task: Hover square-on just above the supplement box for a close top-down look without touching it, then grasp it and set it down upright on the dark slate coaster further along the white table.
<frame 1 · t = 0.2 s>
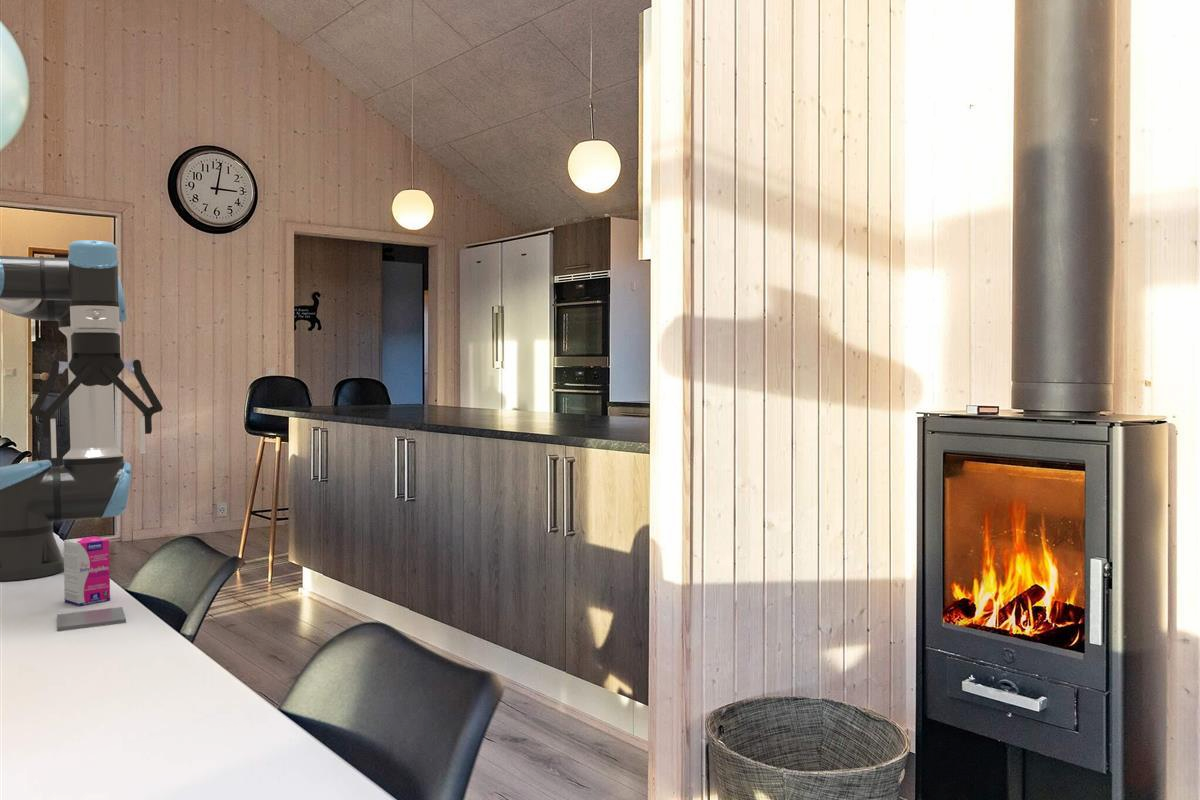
hand: (99, 455, 169), 27 cm above the table, fingers open, 13 cm apart
slate coaster: (91, 620, 165), on the table
supplement box: (87, 602, 179), on the table
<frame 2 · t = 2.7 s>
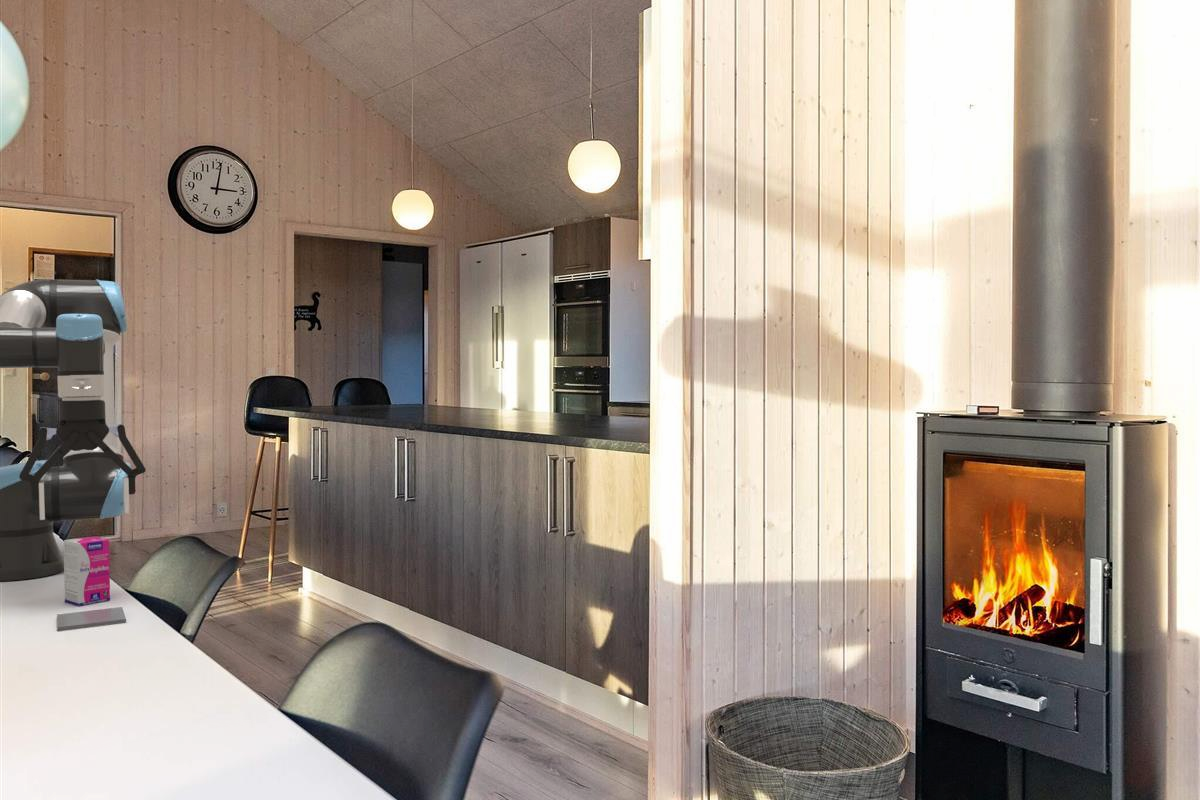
hand: (85, 515, 178), 16 cm above the table, fingers open, 13 cm apart
nothing on the table moved.
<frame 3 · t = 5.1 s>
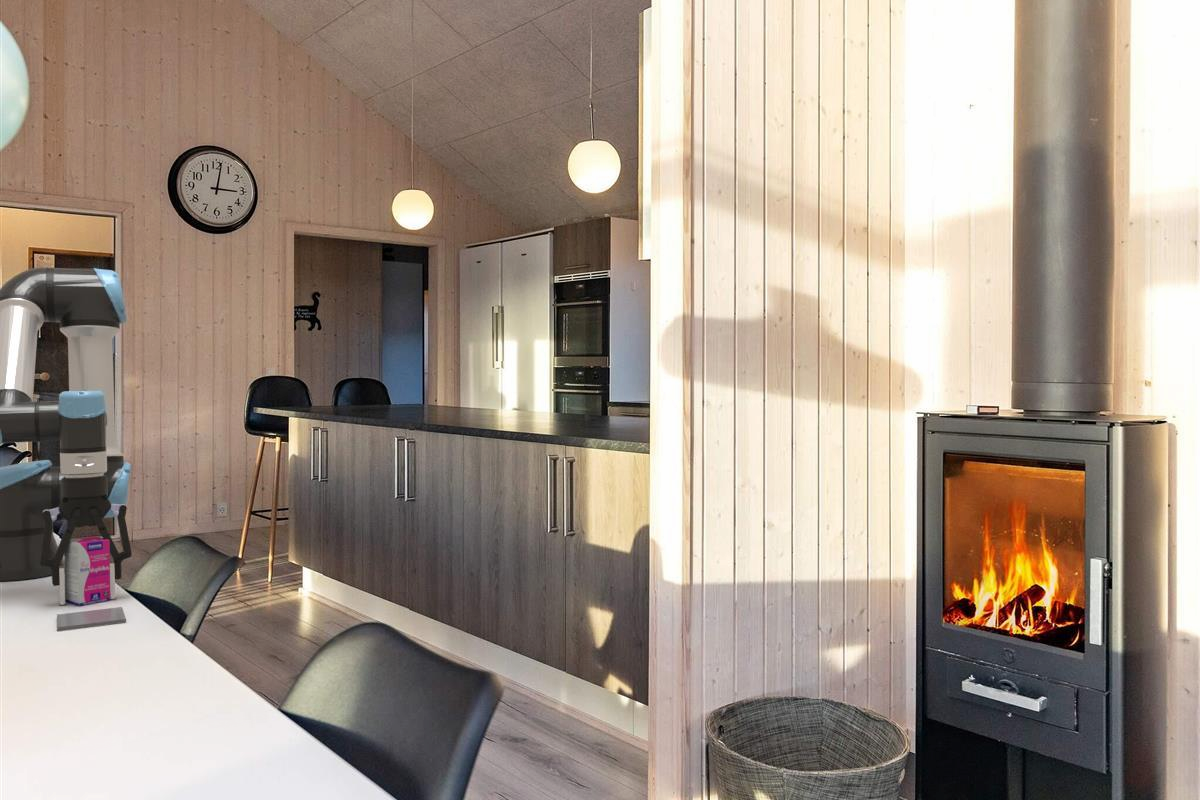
hand: (87, 600, 179), 0 cm above the table, fingers closed on supplement box, 7 cm apart
supplement box: (88, 602, 179), on the table, touching gripper
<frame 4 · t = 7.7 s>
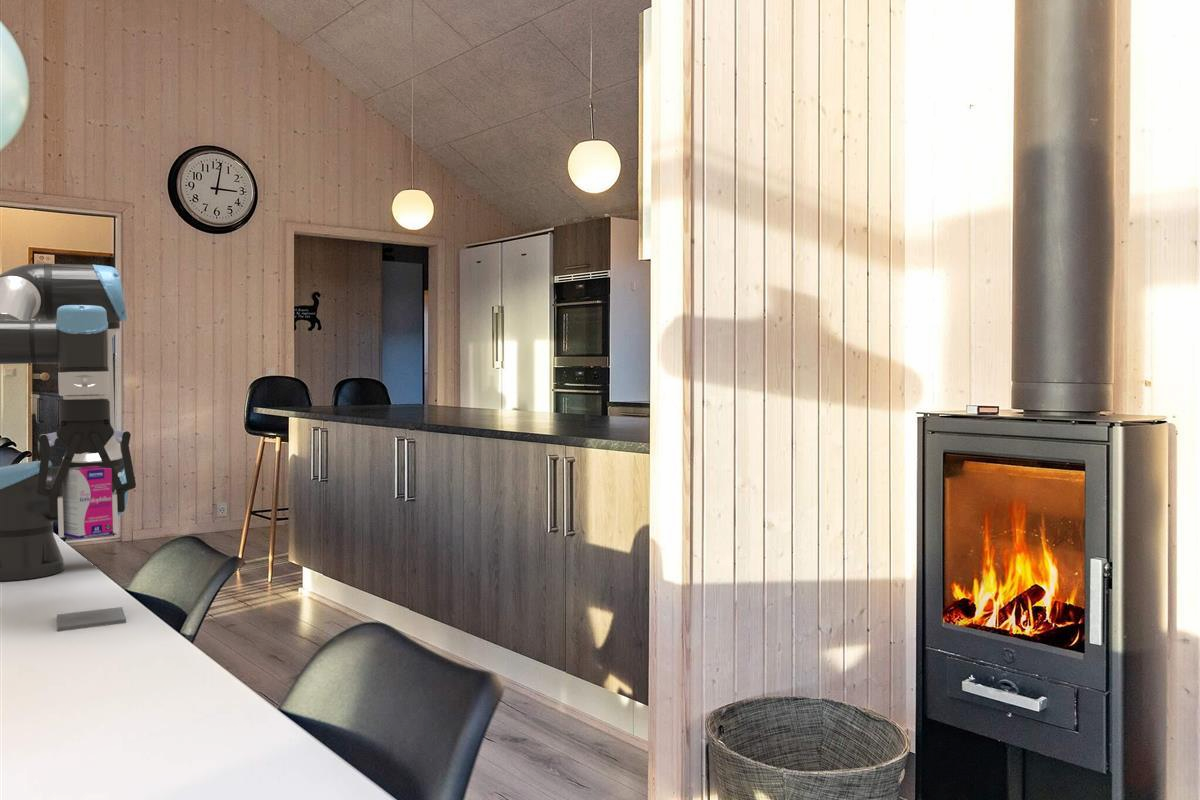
hand: (88, 533, 164), 15 cm above the table, fingers closed on supplement box, 7 cm apart
supplement box: (89, 536, 164), point 14 cm above the table, touching gripper
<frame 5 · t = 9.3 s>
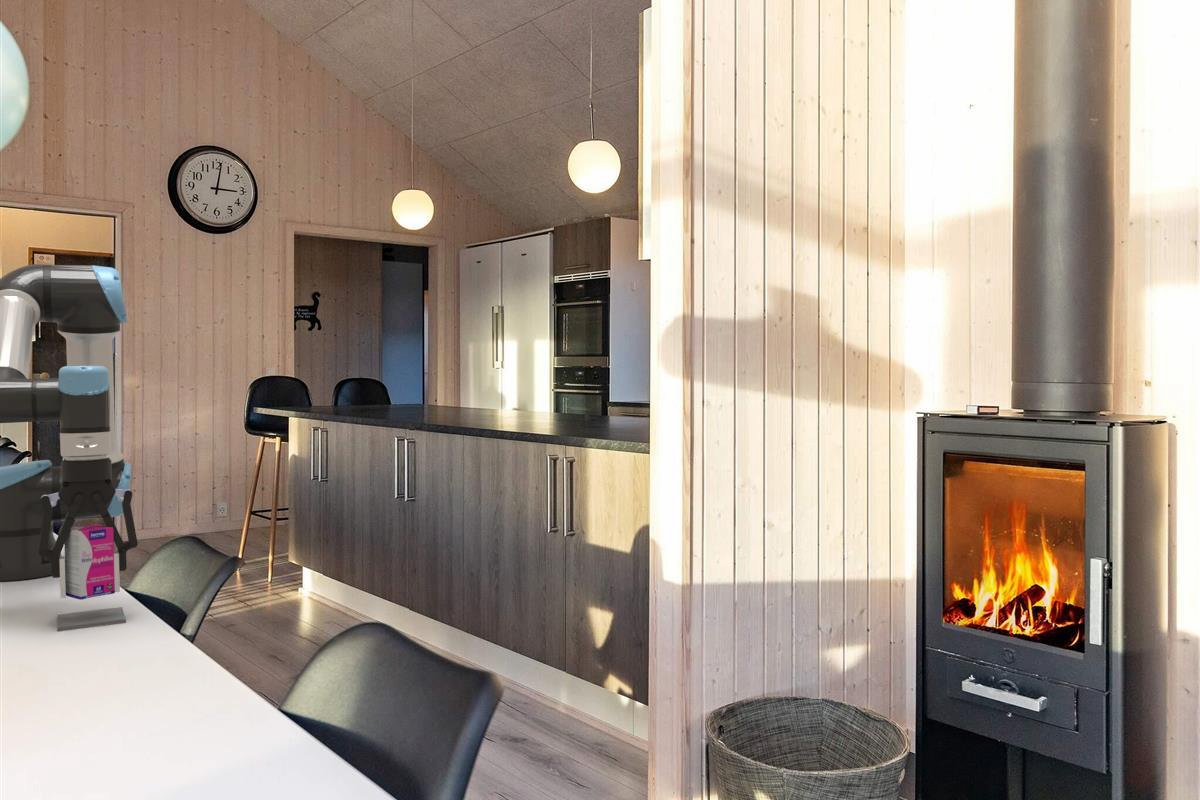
hand: (90, 593, 165), 5 cm above the table, fingers closed on supplement box, 7 cm apart
supplement box: (90, 596, 165), point 4 cm above the table, touching gripper
when the fingers open (2 cm above the table, at t = 10.2 s): supplement box drops 1 cm, resting on slate coaster.
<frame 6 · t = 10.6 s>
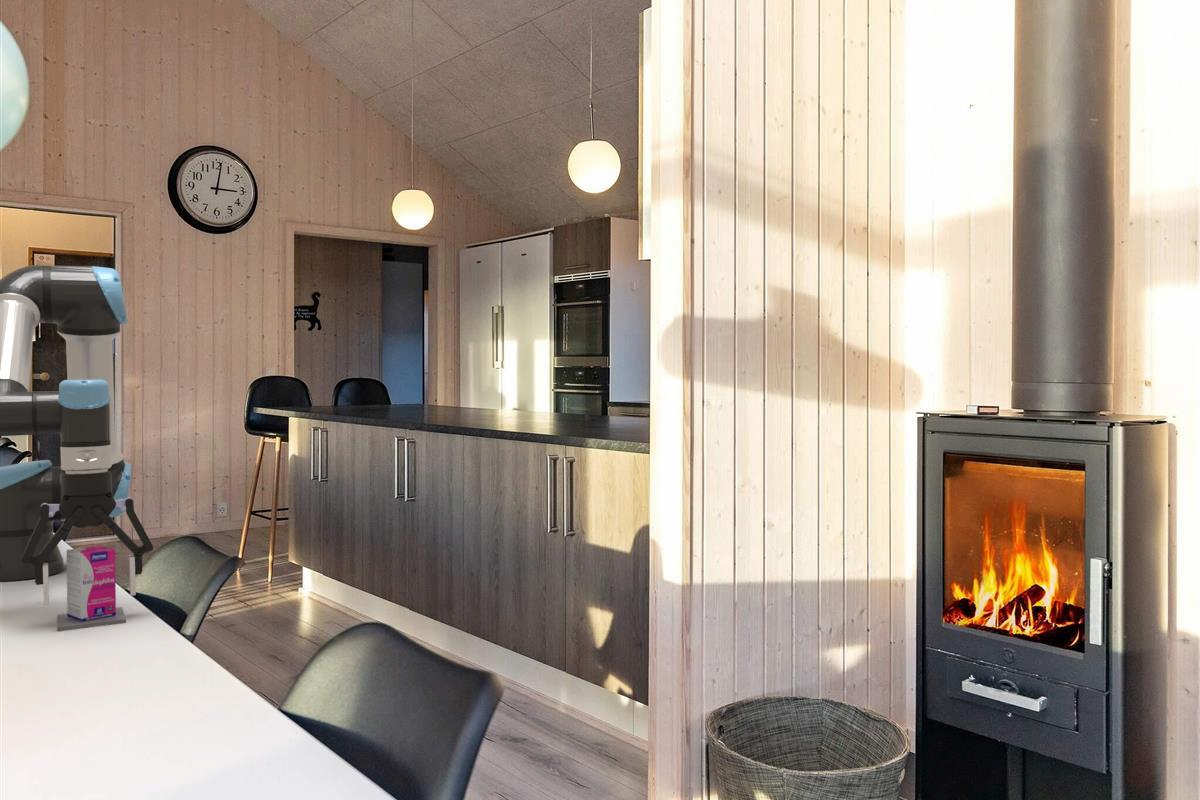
hand: (90, 598, 165), 4 cm above the table, fingers open, 12 cm apart
supplement box: (92, 617, 165), resting on slate coaster
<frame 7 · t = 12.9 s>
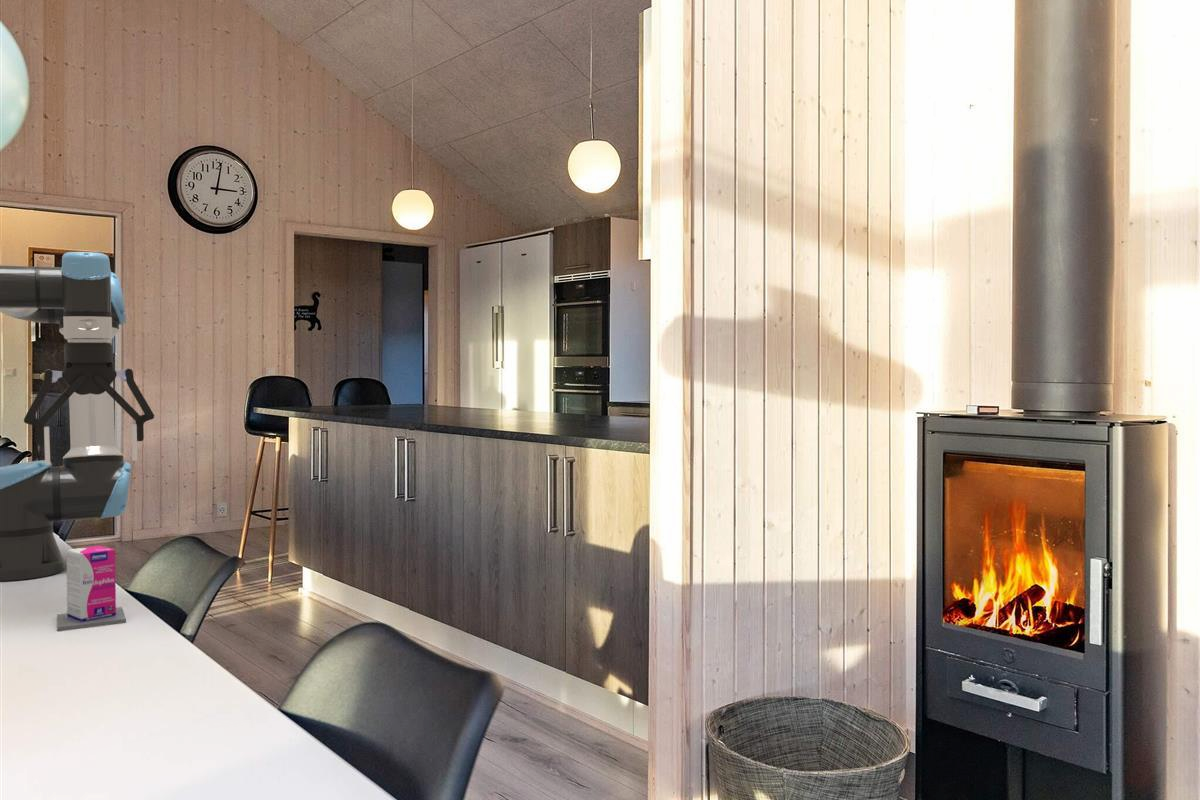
hand: (92, 462, 172), 26 cm above the table, fingers open, 13 cm apart
nothing on the table moved.
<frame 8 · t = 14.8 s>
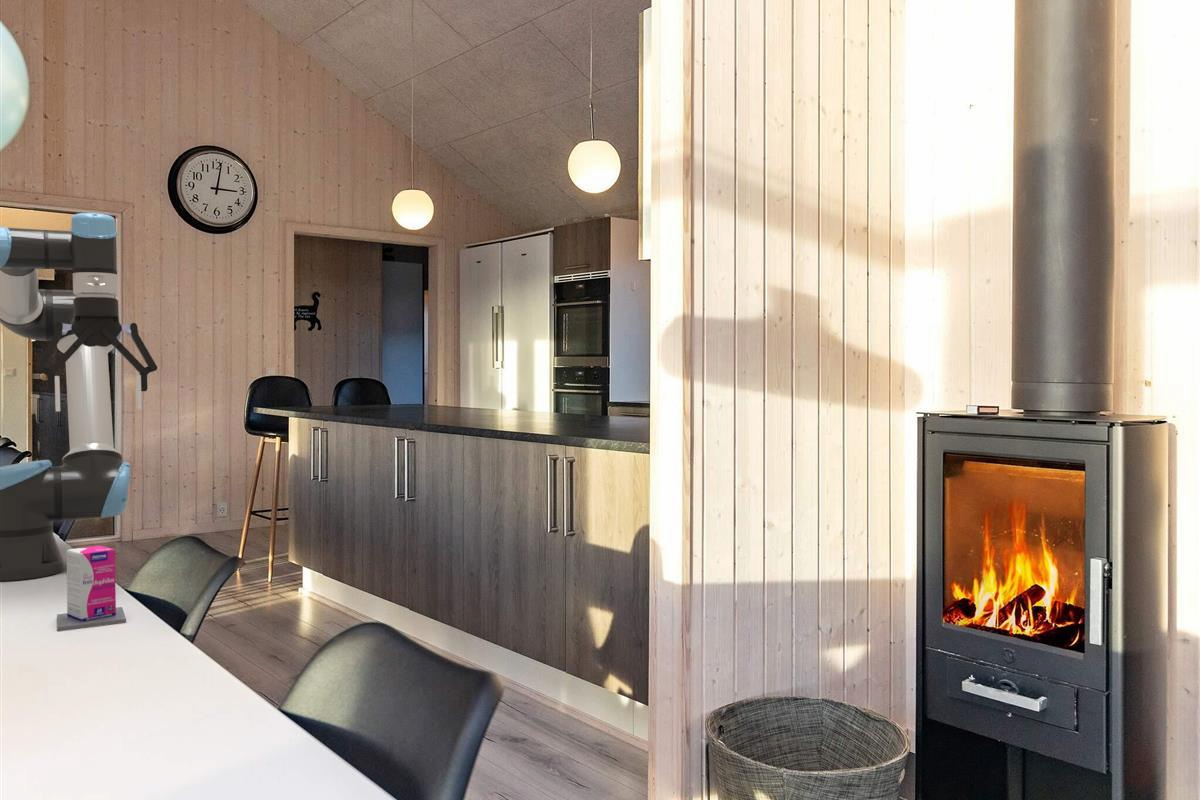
hand: (99, 410, 184), 35 cm above the table, fingers open, 13 cm apart
nothing on the table moved.
at the end: supplement box inside the target area on the slate coaster (0.2 cm from its centre), point 0.4 cm above the slate coaster's base; supplement box tilted 0°; the gripper is holding nothing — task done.
